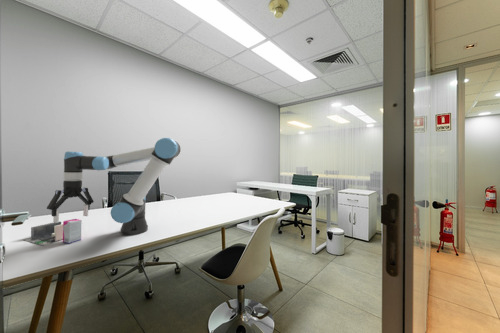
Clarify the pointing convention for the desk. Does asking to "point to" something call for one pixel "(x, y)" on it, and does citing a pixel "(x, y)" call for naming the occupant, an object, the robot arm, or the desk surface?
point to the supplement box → (72, 231)
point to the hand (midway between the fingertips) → (71, 218)
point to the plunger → (57, 233)
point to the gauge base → (42, 234)
